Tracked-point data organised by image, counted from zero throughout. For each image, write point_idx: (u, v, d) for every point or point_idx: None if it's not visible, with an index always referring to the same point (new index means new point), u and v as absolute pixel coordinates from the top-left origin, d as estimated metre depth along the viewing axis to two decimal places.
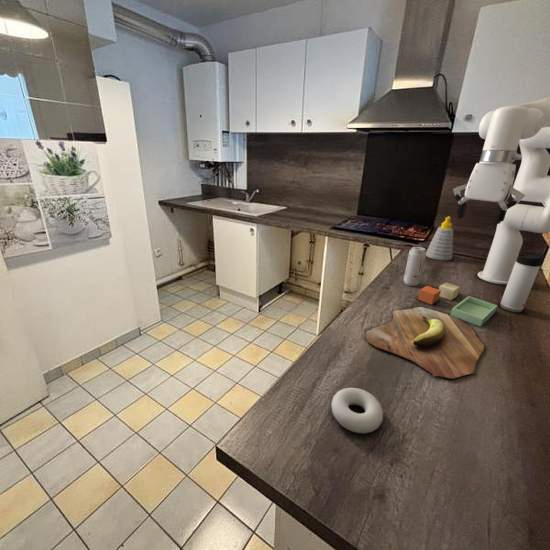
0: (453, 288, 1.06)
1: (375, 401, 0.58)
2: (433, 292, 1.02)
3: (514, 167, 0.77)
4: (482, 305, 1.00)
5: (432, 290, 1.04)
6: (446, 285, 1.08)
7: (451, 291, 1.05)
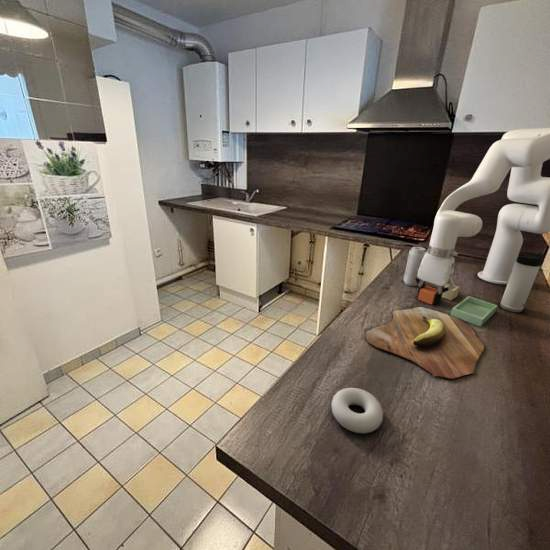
0: None
1: (375, 401, 0.58)
2: (433, 292, 1.02)
3: (453, 261, 0.96)
4: (482, 305, 1.00)
5: (432, 290, 1.04)
6: (446, 285, 1.08)
7: (451, 291, 1.05)
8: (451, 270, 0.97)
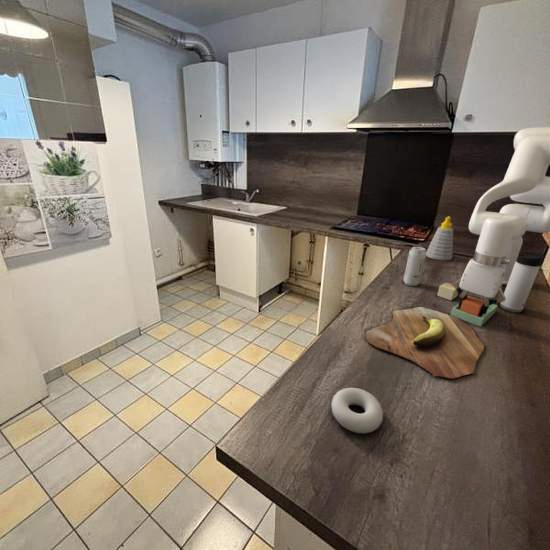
0: (453, 288, 1.06)
1: (375, 401, 0.58)
2: (478, 304, 0.91)
3: (504, 270, 0.85)
4: None
5: (476, 301, 0.93)
6: (446, 285, 1.08)
7: (451, 291, 1.05)
8: (501, 280, 0.86)
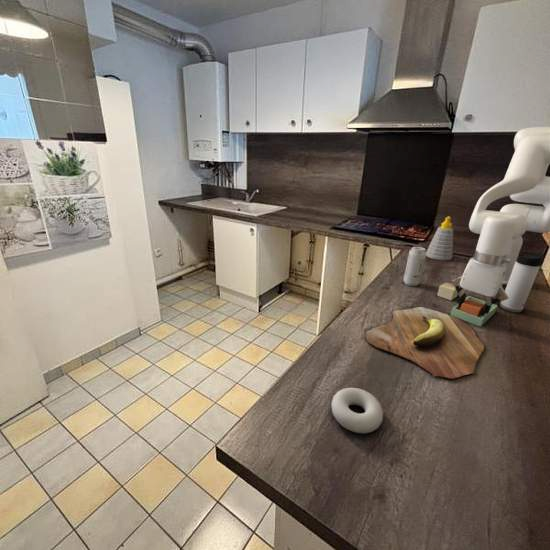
0: (453, 288, 1.06)
1: (375, 401, 0.58)
2: (477, 307, 0.91)
3: (504, 268, 0.85)
4: None
5: (475, 304, 0.93)
6: (446, 285, 1.08)
7: (451, 291, 1.05)
8: (502, 279, 0.86)
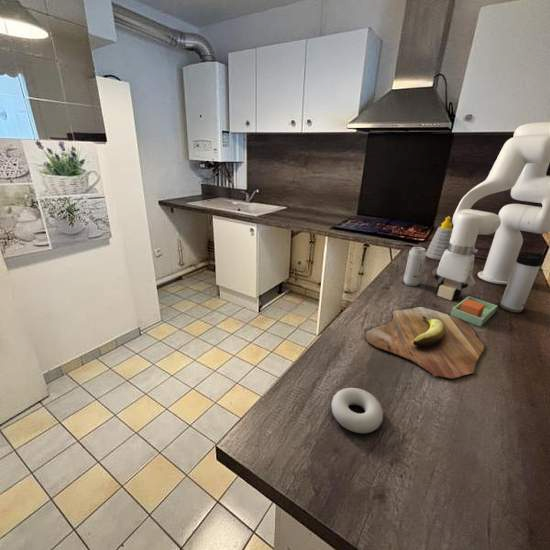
0: (453, 288, 1.06)
1: (375, 401, 0.58)
2: (477, 307, 0.91)
3: (473, 258, 0.99)
4: None
5: (475, 304, 0.93)
6: (446, 285, 1.08)
7: (451, 291, 1.05)
8: (471, 267, 1.00)
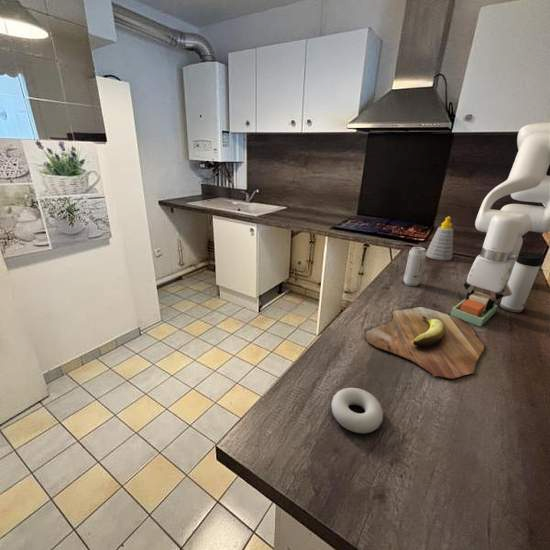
0: (486, 298, 0.95)
1: (375, 401, 0.58)
2: (477, 307, 0.91)
3: (510, 265, 0.89)
4: None
5: (475, 304, 0.93)
6: (477, 295, 0.97)
7: (484, 302, 0.94)
8: (508, 275, 0.90)
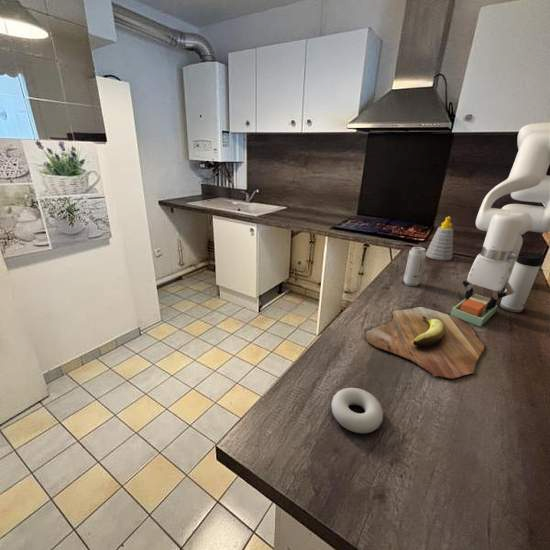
0: (485, 300, 0.96)
1: (375, 401, 0.58)
2: (477, 307, 0.91)
3: (510, 264, 0.89)
4: None
5: (475, 304, 0.93)
6: (476, 298, 0.97)
7: None
8: (508, 274, 0.89)
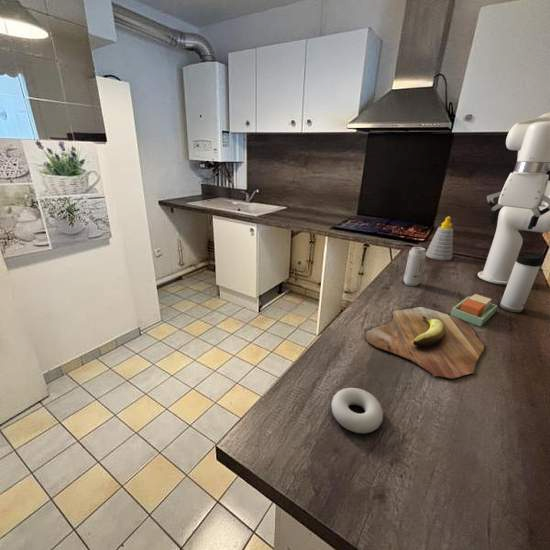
0: (485, 300, 0.96)
1: (375, 401, 0.58)
2: (477, 307, 0.91)
3: (547, 177, 0.84)
4: None
5: (475, 304, 0.93)
6: (476, 298, 0.97)
7: None
8: (544, 188, 0.84)
